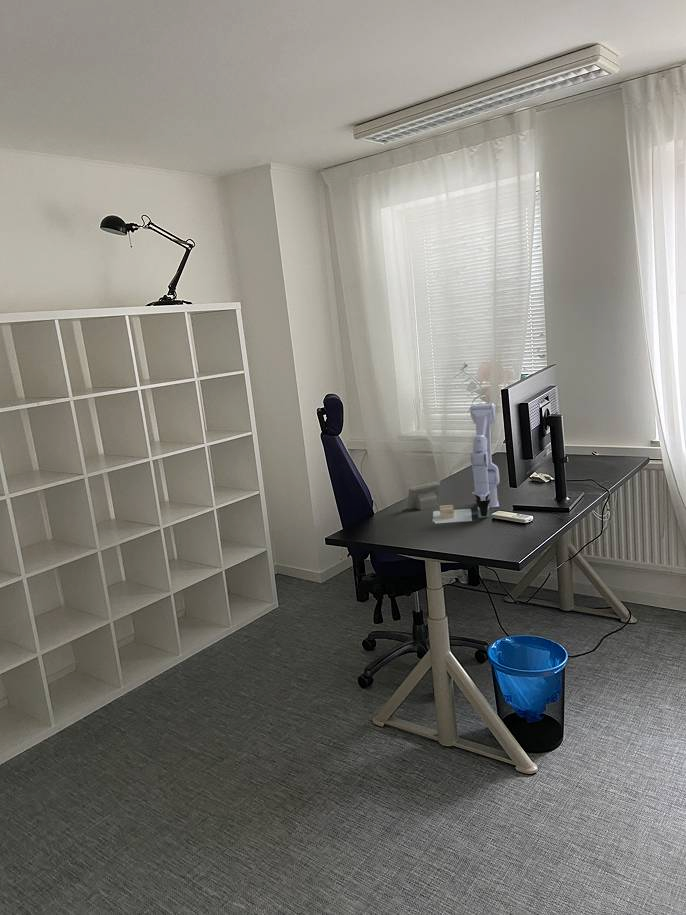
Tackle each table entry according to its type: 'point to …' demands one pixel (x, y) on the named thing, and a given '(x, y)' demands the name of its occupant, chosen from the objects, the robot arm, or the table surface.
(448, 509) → the base block
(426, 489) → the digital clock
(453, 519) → the board
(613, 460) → the table surface
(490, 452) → the robot arm
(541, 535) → the table surface
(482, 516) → the teal block
